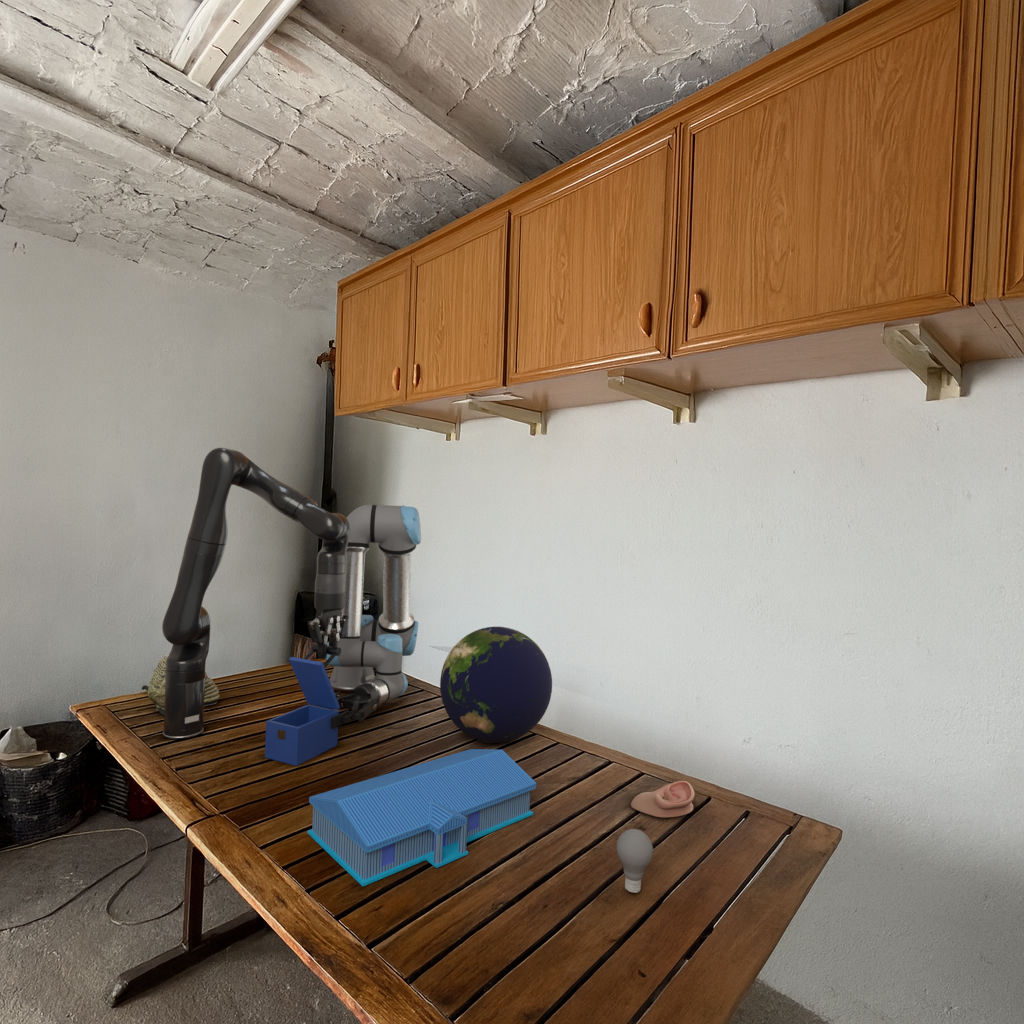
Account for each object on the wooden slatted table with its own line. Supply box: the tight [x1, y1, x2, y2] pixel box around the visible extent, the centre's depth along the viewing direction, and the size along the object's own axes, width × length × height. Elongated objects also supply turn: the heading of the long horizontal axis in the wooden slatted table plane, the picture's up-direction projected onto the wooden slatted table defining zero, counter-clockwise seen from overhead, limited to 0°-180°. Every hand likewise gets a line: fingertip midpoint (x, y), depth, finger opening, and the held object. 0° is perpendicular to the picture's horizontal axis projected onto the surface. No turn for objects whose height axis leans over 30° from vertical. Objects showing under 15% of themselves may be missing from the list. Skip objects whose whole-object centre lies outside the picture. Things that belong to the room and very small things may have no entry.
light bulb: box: [615, 828, 654, 894], centre depth 106 cm, size 6×6×10 cm
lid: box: [288, 642, 341, 711], centre depth 163 cm, size 15×10×9 cm
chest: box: [264, 703, 340, 767], centre depth 157 cm, size 15×10×9 cm
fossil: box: [147, 654, 221, 711], centre depth 185 cm, size 9×18×15 cm, turn 132°
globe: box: [439, 625, 553, 744], centre depth 169 cm, size 30×30×30 cm
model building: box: [307, 748, 538, 887], centre depth 123 cm, size 39×24×10 cm, turn 132°
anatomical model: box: [630, 780, 695, 818], centre depth 136 cm, size 13×4×12 cm
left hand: (327, 656), depth 164 cm, fingers open, 3 cm apart
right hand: (315, 719), depth 161 cm, fingers closed on chest, 10 cm apart
